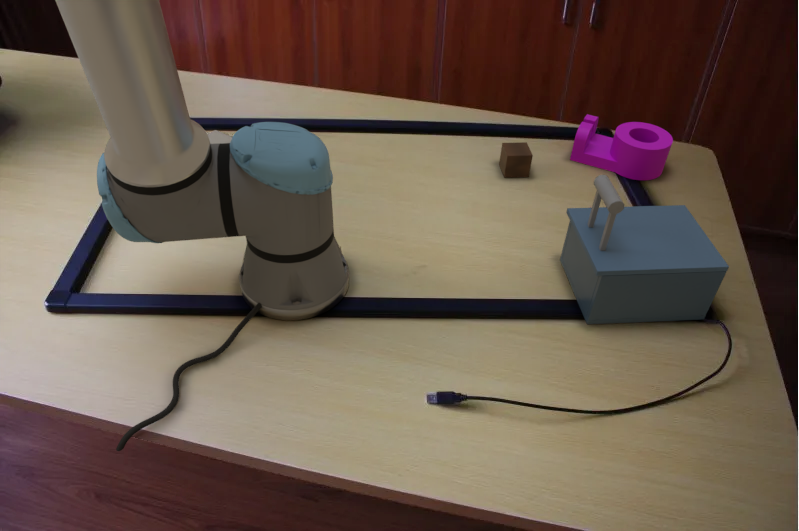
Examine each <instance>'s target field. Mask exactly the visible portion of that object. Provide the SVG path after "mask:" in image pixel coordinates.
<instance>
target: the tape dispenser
mask: <svg viewBox="0 0 799 531" xmlns="http://www.w3.org/2000/svg"><path fill="white" fill-rule="evenodd" d="M599 120H600V119H599V116H596V115H592V114H588V113H587V114H586V115H585V116H584V118H583V121H581V122H580V124H579V126H578V127H577V130H576V133H575V137H574V140H573V144H572V149H571V153H570V157H569V160H570V161H572V162H576V163H580V164H584V165H587V166H591V167H594V168H597V169H601V170H606V171H609V172H613V173H615V174H617V175H619V176H620V177H623V178H626V179H629V180H634V181H635V180H636V181H652V180H655V179H657V178H659V177H660V176H661V175H662V174H663V171H664V169H665V165H666V162H667V159H668V156H669V154H670V151H671V148H672V146H673V143H674V138H673V136H672V134H670V132H668V131H667V130H665V128H662V127H661V126H658V125H655V124H652V123H648V122H644V121H643V122H641V121H628V122H623V123H620V124H619V125H618V126H617V127H616V128H615V132H614V135H613V137H610V136H607V135H603V134H599V133H596V131H597V127H598V124H599Z"/></svg>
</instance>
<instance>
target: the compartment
mask: <svg viewBox="0 0 799 531" xmlns="http://www.w3.org/2000/svg"><path fill="white" fill-rule="evenodd" d="M565 234H566V235H565V237H564V242H563V246H562V250H561V254H560V258H559V261H560V264H561V266H562V268H563V271H564V273H565V275H566V278H567V280H568V282H569V285H570V287H571V290H572V292H573V294H574V297H575V299H576V302H577V305H578V307H579V309H580V311H581V314H582V316H583V318H584V321H585V323H586V325H602V324H605V325H606V324H627V323H650V322H651V323H652V322H654V323H655V322H675V321H701V320H702V321H703V320H705V319H706V316H707V313H708V311H709V310H710V307H711V305H712V304H713V301H714V299H715V297H716V296H717V293H718V291H719V289H720V287H721V285H722V283H723V281H724V278H725V277H726V274H727V271H718V272H690V273H662V274H634V275H606V276H596V274H595V272H594V270H593V268H592V266H591V264H590V262H589V260H588V257H587V255H586V253H585V251H584V249H583V247H582V245H581V243H580V240H579V238H578V236H577V234H576V232H575V230H574V228H573V226H572V224H571V221H570V220H569V222H568V226H567V230H566V233H565Z"/></svg>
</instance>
